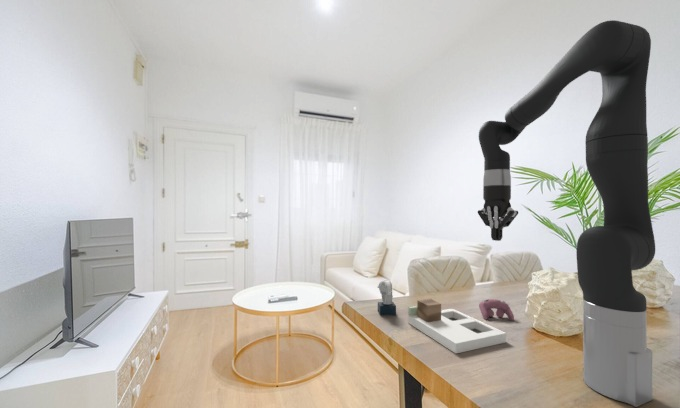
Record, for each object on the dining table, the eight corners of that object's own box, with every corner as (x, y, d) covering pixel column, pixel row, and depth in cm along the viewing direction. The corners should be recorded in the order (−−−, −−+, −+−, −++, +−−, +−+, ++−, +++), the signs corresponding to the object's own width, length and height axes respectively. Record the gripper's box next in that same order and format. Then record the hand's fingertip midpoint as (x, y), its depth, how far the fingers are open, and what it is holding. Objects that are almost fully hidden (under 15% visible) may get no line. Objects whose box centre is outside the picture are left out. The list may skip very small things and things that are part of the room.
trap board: (506, 342, 76) (506, 323, 76) (455, 353, 69) (455, 333, 70) (452, 315, 95) (452, 301, 95) (408, 322, 88) (408, 307, 88)
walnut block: (441, 320, 84) (441, 303, 84) (427, 322, 82) (427, 305, 83) (430, 314, 89) (430, 298, 89) (417, 316, 87) (417, 300, 87)
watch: (391, 308, 101) (391, 278, 101) (397, 317, 93) (397, 284, 93) (376, 308, 100) (376, 278, 101) (380, 317, 92) (381, 284, 93)
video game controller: (509, 322, 94) (505, 300, 97) (516, 320, 90) (511, 298, 93) (479, 320, 95) (476, 299, 98) (484, 319, 91) (480, 297, 94)
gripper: (525, 183, 82) (525, 242, 81) (487, 187, 94) (487, 238, 94) (508, 182, 79) (507, 243, 79) (470, 186, 91) (470, 238, 91)
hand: (496, 240), depth 86 cm, fingers closed
